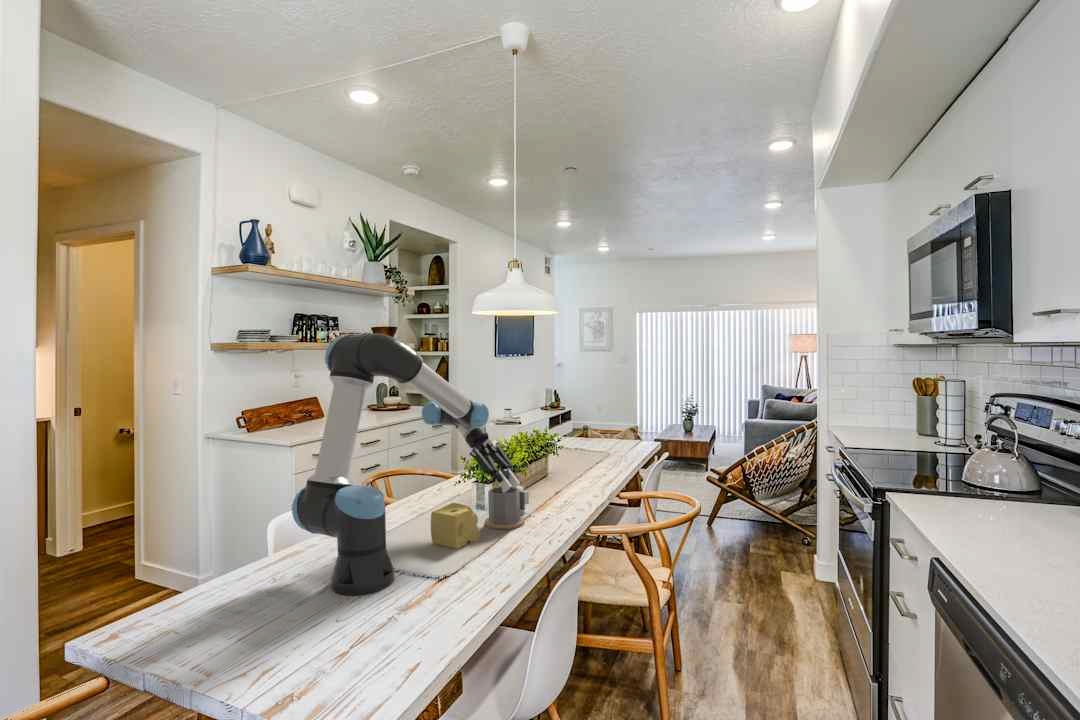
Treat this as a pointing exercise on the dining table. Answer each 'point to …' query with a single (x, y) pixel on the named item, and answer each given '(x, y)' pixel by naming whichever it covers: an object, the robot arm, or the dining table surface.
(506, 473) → the plunger
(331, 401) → the robot arm
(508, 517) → the grey octagonal cup
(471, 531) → the cheese
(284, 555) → the dining table surface
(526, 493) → the pale green dome knob
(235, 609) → the dining table surface
